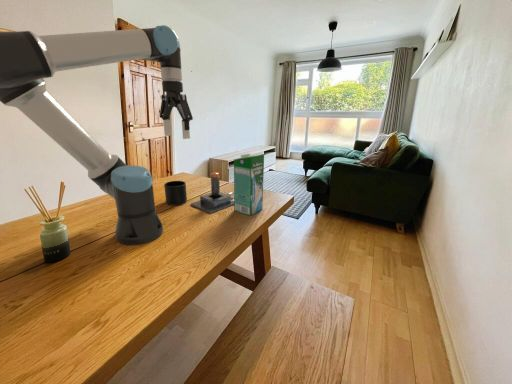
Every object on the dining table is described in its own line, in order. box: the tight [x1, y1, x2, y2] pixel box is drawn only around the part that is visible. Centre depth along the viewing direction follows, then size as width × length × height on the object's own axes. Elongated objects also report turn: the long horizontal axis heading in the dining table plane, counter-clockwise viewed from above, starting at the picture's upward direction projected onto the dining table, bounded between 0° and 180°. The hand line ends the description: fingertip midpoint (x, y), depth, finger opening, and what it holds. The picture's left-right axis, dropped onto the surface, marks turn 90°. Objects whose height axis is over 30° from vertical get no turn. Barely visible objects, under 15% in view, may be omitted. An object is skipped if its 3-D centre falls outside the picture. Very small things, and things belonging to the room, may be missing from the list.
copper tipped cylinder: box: [210, 171, 221, 199], centre depth 112 cm, size 4×4×14 cm
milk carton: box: [233, 153, 265, 217], centre depth 105 cm, size 9×9×25 cm
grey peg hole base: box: [190, 191, 234, 214], centre depth 116 cm, size 22×14×4 cm, turn 139°
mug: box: [164, 180, 188, 206], centre depth 116 cm, size 9×12×9 cm
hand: (176, 137), depth 102 cm, fingers open, 13 cm apart
